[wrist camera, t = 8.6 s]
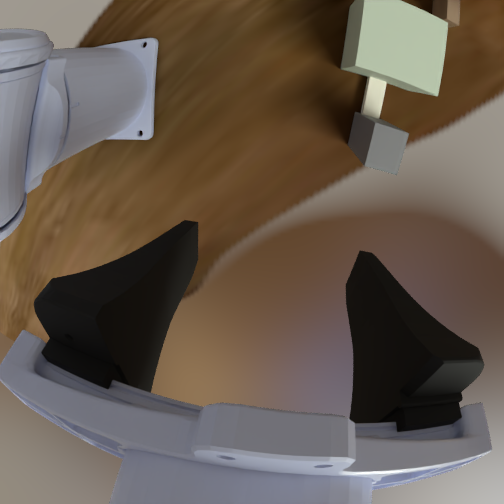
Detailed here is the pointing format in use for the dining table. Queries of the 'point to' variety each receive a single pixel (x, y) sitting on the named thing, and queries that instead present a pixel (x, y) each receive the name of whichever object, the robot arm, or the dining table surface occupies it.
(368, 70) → the sage block
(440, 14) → the frame
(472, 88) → the dining table surface
